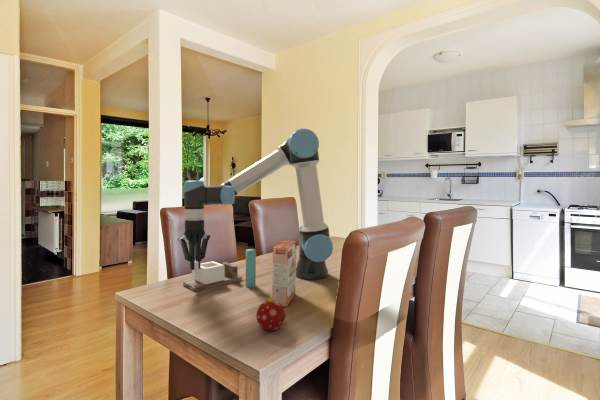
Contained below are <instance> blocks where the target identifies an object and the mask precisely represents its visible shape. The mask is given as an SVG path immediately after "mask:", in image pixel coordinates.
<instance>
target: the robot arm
mask: <svg viewBox="0 0 600 400" xmlns="http://www.w3.org/2000/svg"><path fill="white" fill-rule="evenodd" d="M319 147H320V141H319V137H318V136H317V134H316V133H315V132H314V131H312V130H311V129H308V128H300V129H296V130H295V131H293V132H292V133H291V134H290V135H289V138H288V139H286V140H285V141H284V142H283V143H281V144H280V145H278V146H277V149H276V150H274V151H273V152H272V153H270V154H268V155H266V156H265V157H263V158H261V159H260V160H259V161H256V162H255V163H254V164H251V165H250V166H248V167H247V168H245V169H244V170H241V172H239V173H237V174H236V175H234V176H233V177H231V178H229V179H227V180H226V181H224V182H223V183H221V184H220V185H205V181H204V180H185V182H184V189H183V198H184V199H183V201H184V202H183V205H184V219H185V220H184V233H183V236H182V237H179V238H178V242H179V243H180V245H181V249H182V253H183V256H184V261H187V262H189V270H191V277H192V278H193V279H194V278H199V269H200V264H201V262H202V261H203V259H206V254H207V253H206V252H207V248H208V243H209V240H210V238H211V234H207V233H206V230H205V220H204V218H205V205H224V206H226V205H232V204H234V203H235V197H236V196H237V195H239V194H241V193H242V192H244V191H245V190H248V189H249V188H250V187H252V186H254V185H255V184H257V183H259V182H260V181H262V180H263V179H265V178H267V177H268V176H270V175H272V174H273V173H274V172H276V171H278V170H280V169H282V167H285V166H286V165H287V166H292V167H293V168H294V169H295V173H296V181H297V189H298V195H299V202H300V210H301V215H302V217H301V218H302V223H303V224H302V225H301V226H299V231H298V234H299V235H298V236H299V237H298V238H299V240H298V243H299V244H298V247H299V248H298V250H299V251H298V261H297V262H296V278H297V277H298V278H300V279H304V280H322V279H325V278H327V277H328V276H329V269H328V267H327V264H326V261H327V259H329V258H330V257H331V255H332V253H333V251H334V244H333V241H332V239H331V237H330V229H329V225H328V224H327V223H325V219H324V213H323V205H322V198H321V197H322V196H321V189H320V185H319V184H320V183H319V176H318V169H317V165H318V163H319V162H320V155H319ZM187 242H188V243H187Z"/></svg>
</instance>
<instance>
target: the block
mask: <svg viewBox="0 0 600 400" xmlns="http://www.w3.org/2000/svg"><path fill="white" fill-rule="evenodd" d="M193 280H196V281H198V282H200V283H203V284H205V285H206V284H210V283H214V282H218V281H222V280H225V269H224V265H223V264H221V262H216V261H214V260H212V261H207V262H200V269H199V278H194V277H193Z"/></svg>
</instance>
